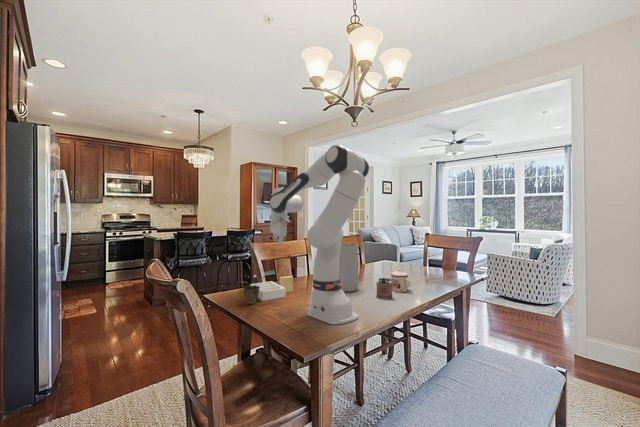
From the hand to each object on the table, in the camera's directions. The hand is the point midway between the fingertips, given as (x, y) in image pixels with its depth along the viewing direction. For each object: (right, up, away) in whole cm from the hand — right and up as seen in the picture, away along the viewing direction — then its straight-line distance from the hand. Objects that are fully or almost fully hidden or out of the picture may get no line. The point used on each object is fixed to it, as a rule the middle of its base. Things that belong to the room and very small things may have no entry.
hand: (277, 242), depth 156 cm
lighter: (+56, -27, -10) cm, 63 cm away
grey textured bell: (-10, -27, -19) cm, 35 cm away
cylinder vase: (+38, -27, +6) cm, 47 cm away
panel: (+5, -27, +1) cm, 27 cm away
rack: (-5, -27, -5) cm, 28 cm away
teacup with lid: (+68, -27, +2) cm, 73 cm away
